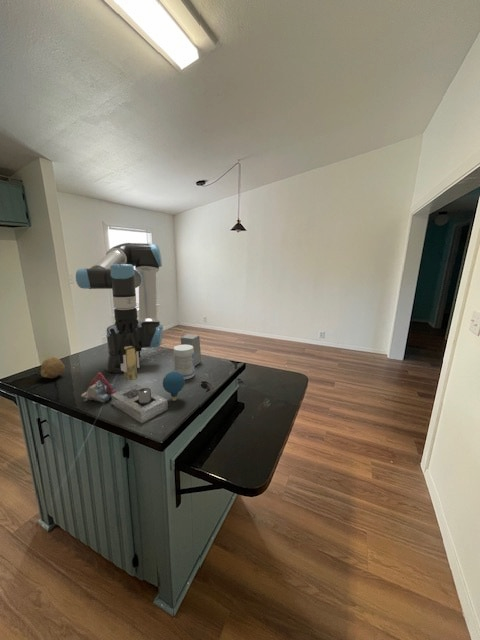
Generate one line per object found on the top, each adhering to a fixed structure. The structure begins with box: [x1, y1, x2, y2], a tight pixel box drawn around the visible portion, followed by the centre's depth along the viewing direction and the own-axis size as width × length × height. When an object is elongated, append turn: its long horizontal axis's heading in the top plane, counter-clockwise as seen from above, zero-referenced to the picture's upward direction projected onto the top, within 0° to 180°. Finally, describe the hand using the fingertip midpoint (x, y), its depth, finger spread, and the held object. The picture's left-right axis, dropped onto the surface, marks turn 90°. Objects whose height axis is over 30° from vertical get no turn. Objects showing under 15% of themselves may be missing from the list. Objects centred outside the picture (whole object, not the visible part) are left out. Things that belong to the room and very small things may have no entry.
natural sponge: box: [40, 356, 66, 379], centre depth 118 cm, size 9×9×10 cm
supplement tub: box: [173, 344, 195, 380], centre depth 122 cm, size 10×10×15 cm
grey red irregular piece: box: [80, 372, 117, 403], centre depth 100 cm, size 11×11×12 cm
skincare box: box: [180, 333, 202, 367], centre depth 137 cm, size 8×7×16 cm
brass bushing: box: [123, 346, 138, 381], centre depth 95 cm, size 4×4×12 cm
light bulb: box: [162, 371, 186, 401], centre depth 100 cm, size 8×8×12 cm
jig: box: [110, 384, 169, 424], centre depth 96 cm, size 20×11×8 cm, turn 54°
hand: (130, 368), depth 96 cm, fingers closed on brass bushing, 4 cm apart
